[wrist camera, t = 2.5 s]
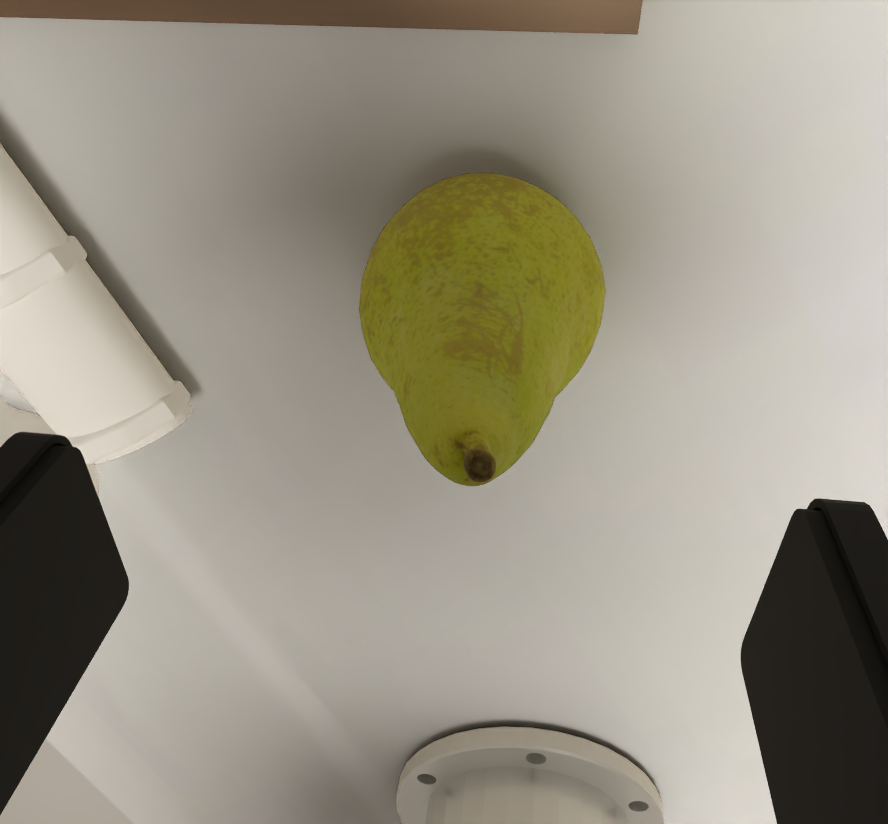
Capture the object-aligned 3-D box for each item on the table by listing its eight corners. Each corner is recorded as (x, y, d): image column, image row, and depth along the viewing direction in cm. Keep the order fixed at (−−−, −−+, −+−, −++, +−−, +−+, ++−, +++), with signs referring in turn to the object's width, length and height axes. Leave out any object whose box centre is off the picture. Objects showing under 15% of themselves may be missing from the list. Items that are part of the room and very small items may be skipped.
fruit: (419, 354, 23) (312, 700, 13) (362, 164, 20) (166, 430, 10) (610, 325, 21) (656, 689, 11) (582, 116, 18) (611, 367, 8)
